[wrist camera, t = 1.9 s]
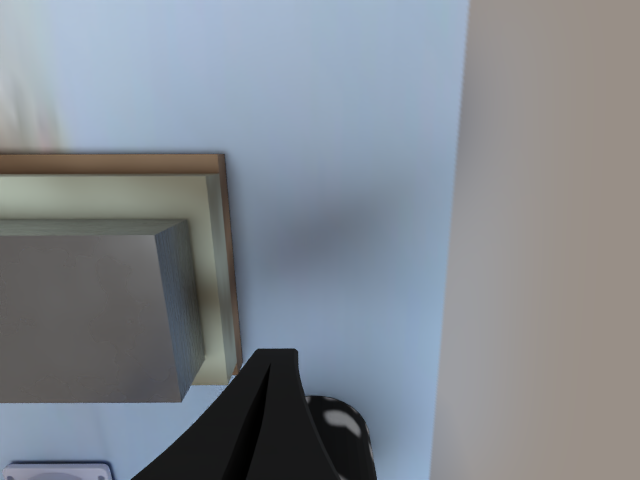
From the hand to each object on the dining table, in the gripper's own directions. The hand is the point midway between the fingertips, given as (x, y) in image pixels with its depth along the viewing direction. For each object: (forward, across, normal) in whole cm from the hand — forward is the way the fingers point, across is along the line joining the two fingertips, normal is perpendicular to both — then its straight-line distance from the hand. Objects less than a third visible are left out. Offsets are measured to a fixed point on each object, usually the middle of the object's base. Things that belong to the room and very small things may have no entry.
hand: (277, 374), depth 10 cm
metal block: (+6, +11, 0) cm, 12 cm away
